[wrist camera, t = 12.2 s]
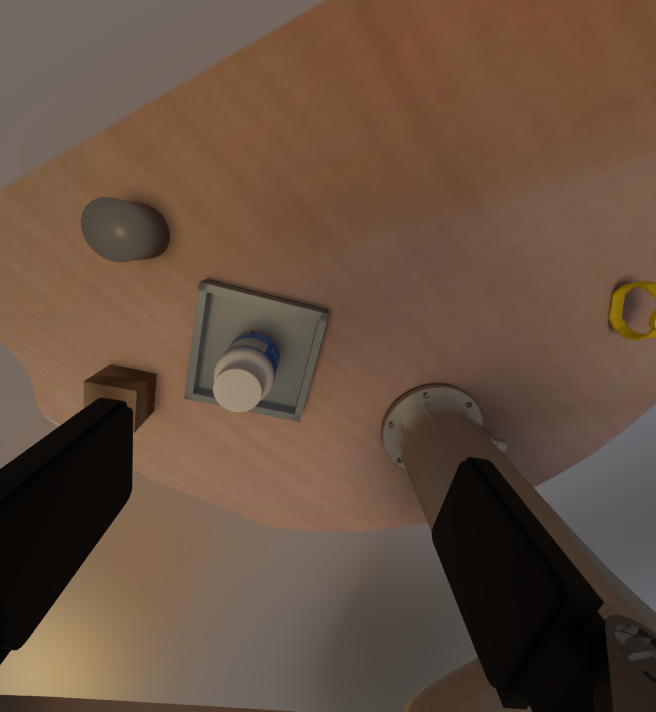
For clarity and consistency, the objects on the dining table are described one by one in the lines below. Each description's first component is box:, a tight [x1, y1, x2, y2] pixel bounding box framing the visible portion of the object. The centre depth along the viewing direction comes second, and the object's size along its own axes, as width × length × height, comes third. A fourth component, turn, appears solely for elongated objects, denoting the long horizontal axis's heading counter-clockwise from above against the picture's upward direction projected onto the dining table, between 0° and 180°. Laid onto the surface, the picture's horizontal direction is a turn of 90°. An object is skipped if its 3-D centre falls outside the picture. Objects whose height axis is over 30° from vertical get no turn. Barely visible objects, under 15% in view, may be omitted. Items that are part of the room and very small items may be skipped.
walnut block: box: [84, 365, 156, 433], centre depth 35 cm, size 5×5×4 cm
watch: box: [608, 281, 656, 340], centre depth 33 cm, size 6×3×6 cm, turn 9°
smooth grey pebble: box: [81, 197, 169, 262], centre depth 29 cm, size 5×5×5 cm
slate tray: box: [185, 279, 329, 422], centre depth 35 cm, size 13×13×2 cm
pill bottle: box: [213, 331, 280, 412], centre depth 31 cm, size 6×5×10 cm
